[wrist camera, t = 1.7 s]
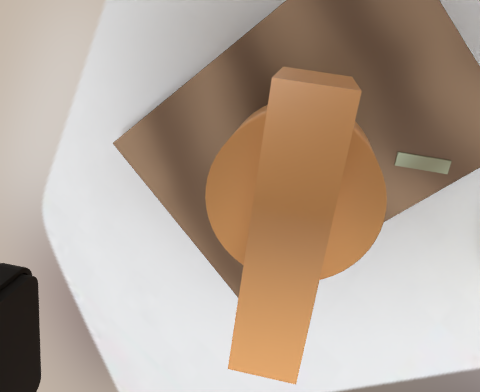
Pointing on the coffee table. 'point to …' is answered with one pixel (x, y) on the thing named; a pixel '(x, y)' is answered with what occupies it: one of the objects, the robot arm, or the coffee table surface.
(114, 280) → the coffee table surface
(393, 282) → the coffee table surface
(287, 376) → the orange bar knob
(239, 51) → the post board
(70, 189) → the coffee table surface
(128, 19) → the coffee table surface
